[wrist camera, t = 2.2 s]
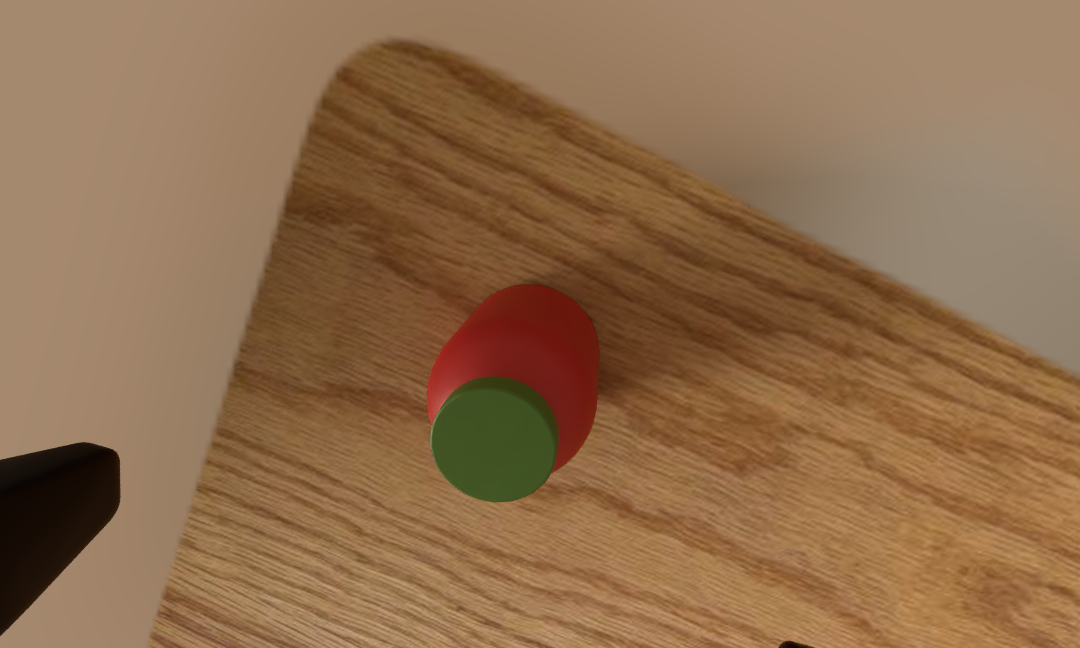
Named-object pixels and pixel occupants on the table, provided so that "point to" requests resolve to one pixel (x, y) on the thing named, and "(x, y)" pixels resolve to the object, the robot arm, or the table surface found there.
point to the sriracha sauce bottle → (513, 393)
